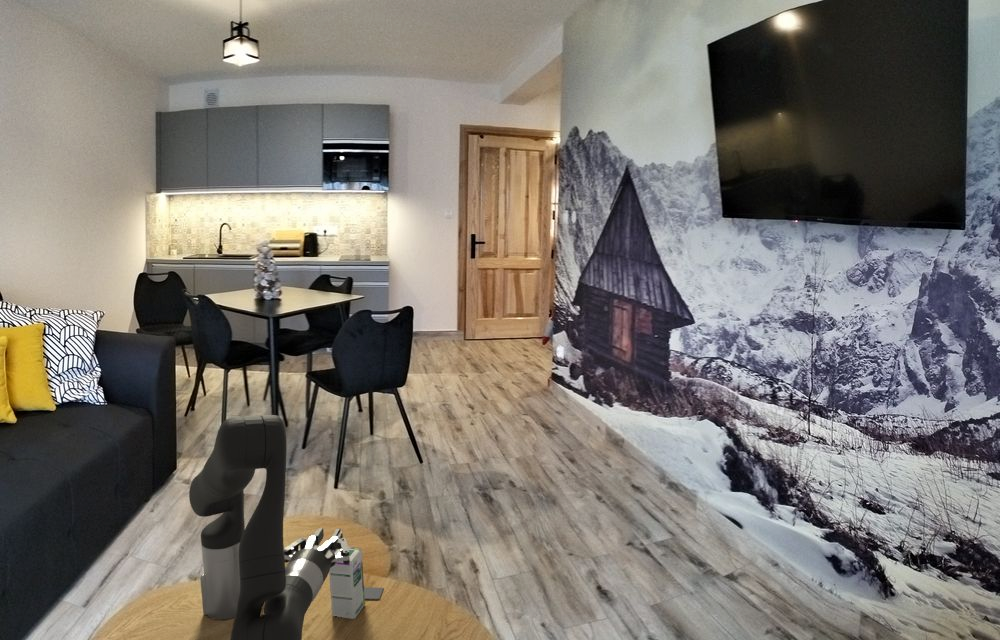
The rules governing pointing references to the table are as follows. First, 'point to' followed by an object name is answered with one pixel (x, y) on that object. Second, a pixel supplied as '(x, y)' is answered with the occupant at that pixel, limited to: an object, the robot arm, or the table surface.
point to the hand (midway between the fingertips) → (330, 532)
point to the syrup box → (347, 585)
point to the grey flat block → (372, 593)
